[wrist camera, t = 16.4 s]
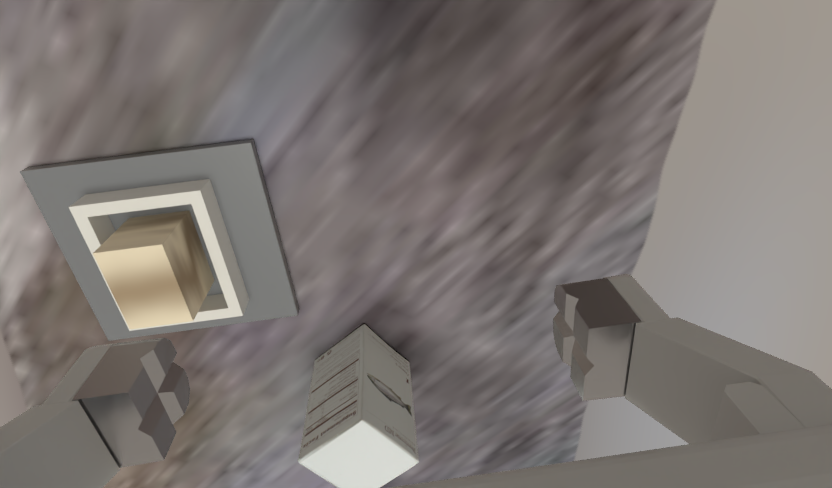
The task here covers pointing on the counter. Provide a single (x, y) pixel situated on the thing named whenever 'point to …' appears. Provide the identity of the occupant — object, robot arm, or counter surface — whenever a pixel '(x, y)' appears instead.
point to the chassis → (166, 193)
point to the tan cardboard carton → (156, 269)
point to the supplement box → (360, 414)
